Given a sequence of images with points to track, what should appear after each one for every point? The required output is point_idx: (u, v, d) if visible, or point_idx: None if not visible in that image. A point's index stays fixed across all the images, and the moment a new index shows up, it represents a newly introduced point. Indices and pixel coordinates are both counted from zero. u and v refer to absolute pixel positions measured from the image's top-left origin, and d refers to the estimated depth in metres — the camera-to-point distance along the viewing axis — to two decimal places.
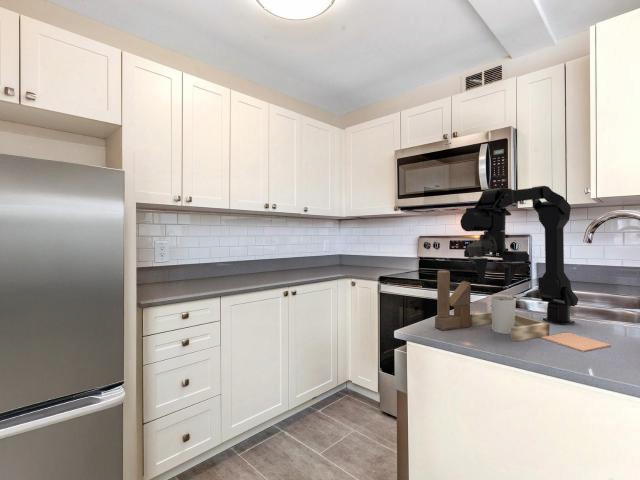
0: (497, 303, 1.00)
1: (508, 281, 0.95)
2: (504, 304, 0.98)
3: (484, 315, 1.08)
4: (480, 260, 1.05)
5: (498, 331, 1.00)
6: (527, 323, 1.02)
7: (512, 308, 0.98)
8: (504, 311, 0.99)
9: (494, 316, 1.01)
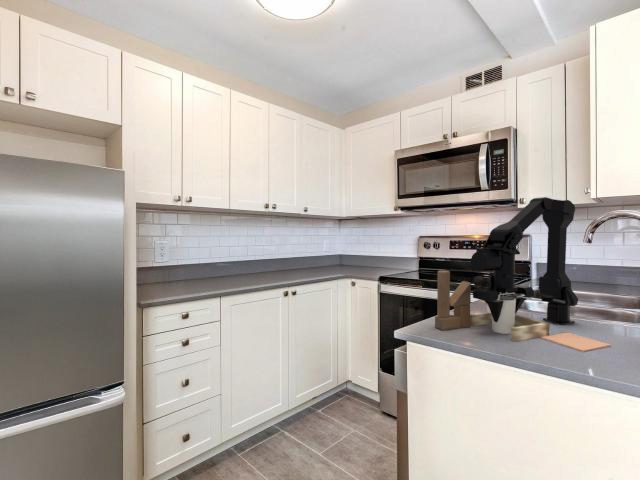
0: None
1: (494, 317, 1.01)
2: (504, 304, 0.98)
3: (484, 315, 1.08)
4: None
5: (498, 331, 1.00)
6: (527, 323, 1.02)
7: (512, 308, 0.98)
8: (504, 311, 0.99)
9: None
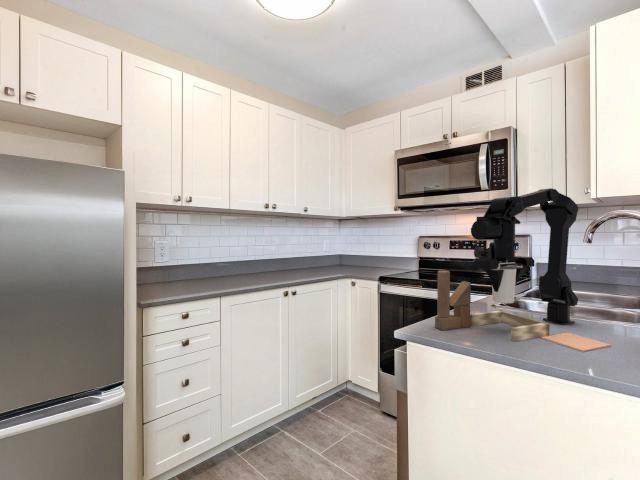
0: None
1: (494, 286, 1.00)
2: (505, 273, 0.98)
3: (484, 315, 1.08)
4: None
5: (498, 301, 1.00)
6: (527, 323, 1.02)
7: (512, 277, 0.98)
8: (504, 281, 0.98)
9: None
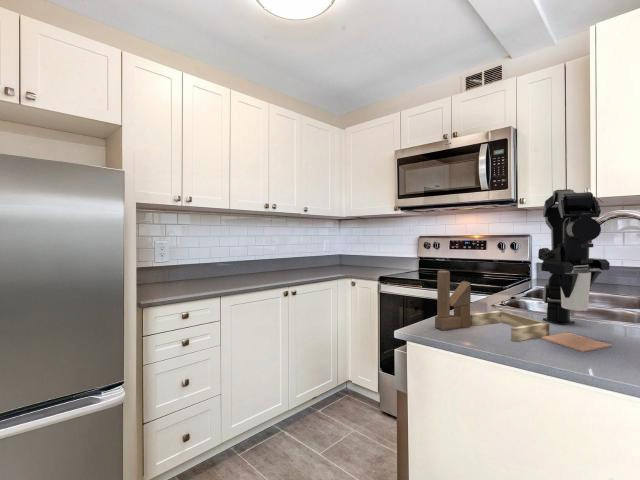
0: None
1: (565, 292, 0.90)
2: (579, 278, 0.88)
3: (484, 315, 1.08)
4: None
5: (570, 308, 0.89)
6: (527, 323, 1.02)
7: (587, 282, 0.88)
8: (578, 286, 0.88)
9: None
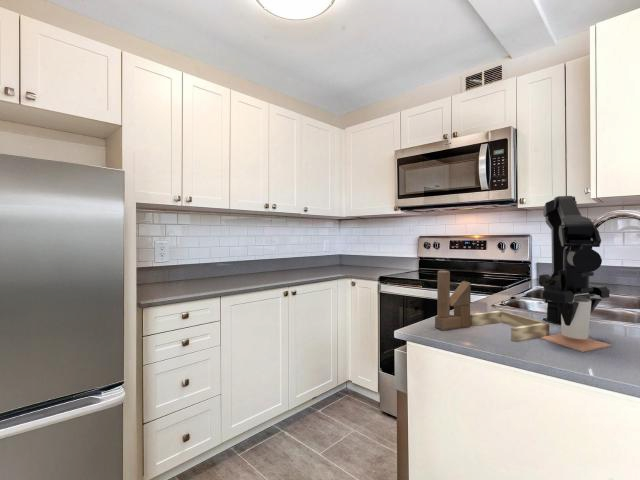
0: None
1: (565, 320, 0.90)
2: (579, 306, 0.88)
3: (484, 315, 1.08)
4: None
5: (571, 336, 0.90)
6: (527, 323, 1.02)
7: (588, 310, 0.88)
8: (579, 314, 0.88)
9: None
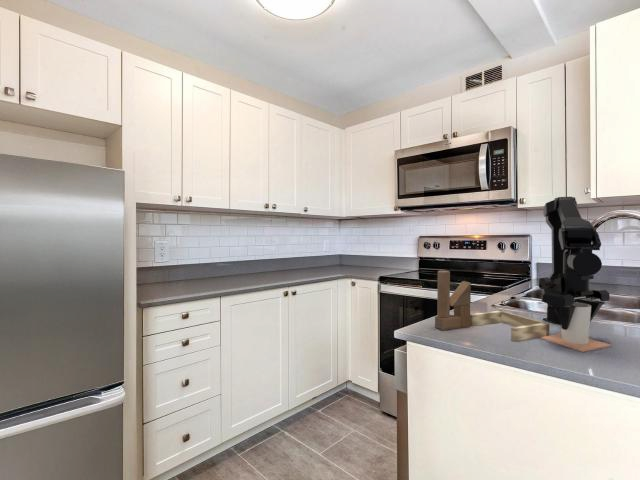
0: None
1: (562, 324, 0.90)
2: (579, 311, 0.88)
3: (484, 315, 1.08)
4: (586, 302, 0.93)
5: (571, 341, 0.90)
6: (527, 323, 1.02)
7: (588, 316, 0.88)
8: (579, 319, 0.88)
9: None
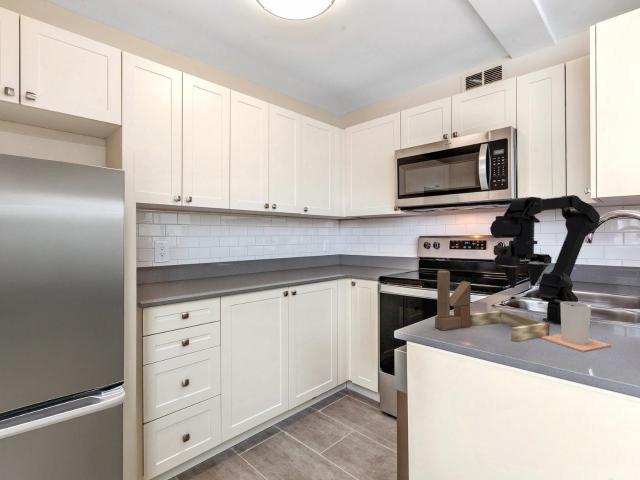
0: (570, 310, 0.89)
1: (510, 283, 1.04)
2: (579, 311, 0.88)
3: (484, 315, 1.08)
4: (533, 265, 1.08)
5: (571, 341, 0.90)
6: (527, 323, 1.02)
7: (588, 316, 0.88)
8: (579, 319, 0.88)
9: (566, 324, 0.91)
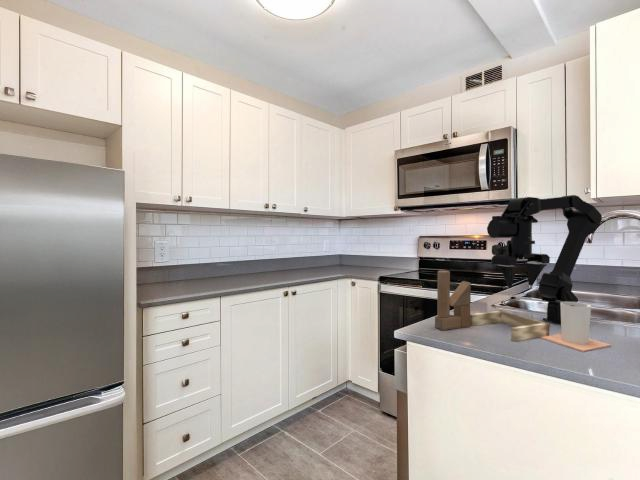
0: (570, 310, 0.89)
1: (507, 282, 1.05)
2: (579, 311, 0.88)
3: (484, 315, 1.08)
4: (531, 265, 1.09)
5: (571, 341, 0.90)
6: (527, 323, 1.02)
7: (588, 316, 0.88)
8: (579, 319, 0.88)
9: (566, 324, 0.91)
